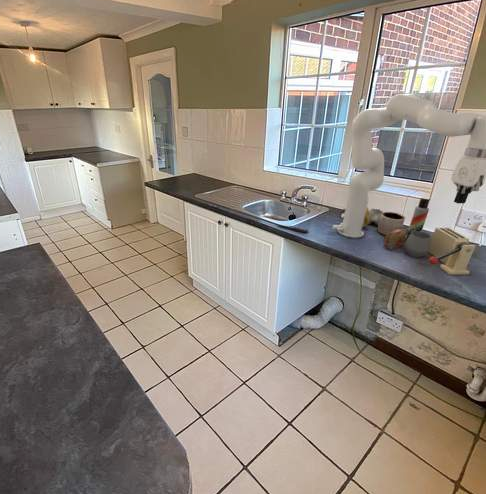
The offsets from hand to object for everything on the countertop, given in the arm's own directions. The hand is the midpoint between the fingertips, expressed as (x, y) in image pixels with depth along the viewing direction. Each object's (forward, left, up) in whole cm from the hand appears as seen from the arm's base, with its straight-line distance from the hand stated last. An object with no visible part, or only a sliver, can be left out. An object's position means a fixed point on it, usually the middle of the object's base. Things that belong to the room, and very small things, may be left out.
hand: (459, 202), depth 116 cm
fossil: (-1, +58, -31) cm, 66 cm away
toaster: (+10, +9, -29) cm, 32 cm away
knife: (-49, +43, -29) cm, 71 cm away
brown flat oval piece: (-6, +20, -29) cm, 36 cm away
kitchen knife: (-11, +63, -29) cm, 70 cm away
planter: (0, +36, -29) cm, 46 cm away
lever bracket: (+7, -2, -29) cm, 30 cm away
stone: (-11, +49, -23) cm, 55 cm away
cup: (-1, +12, -29) cm, 32 cm away
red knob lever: (+3, -2, -23) cm, 23 cm away
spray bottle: (+11, +32, -29) cm, 45 cm away
